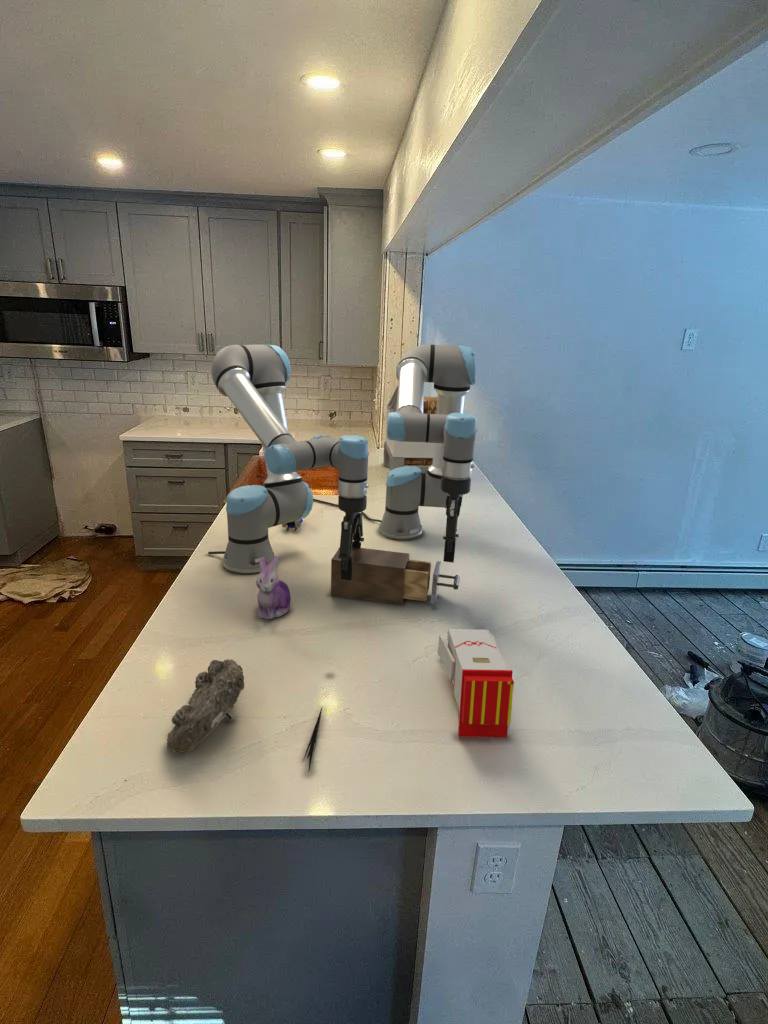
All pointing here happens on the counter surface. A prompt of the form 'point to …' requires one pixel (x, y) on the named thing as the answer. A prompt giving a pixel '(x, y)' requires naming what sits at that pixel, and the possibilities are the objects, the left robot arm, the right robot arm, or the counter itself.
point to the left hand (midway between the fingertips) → (350, 570)
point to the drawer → (424, 580)
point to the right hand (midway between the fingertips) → (448, 560)
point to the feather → (313, 740)
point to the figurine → (271, 591)
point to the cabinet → (371, 575)
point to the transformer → (409, 451)
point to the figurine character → (292, 525)
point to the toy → (478, 682)
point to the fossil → (206, 705)
